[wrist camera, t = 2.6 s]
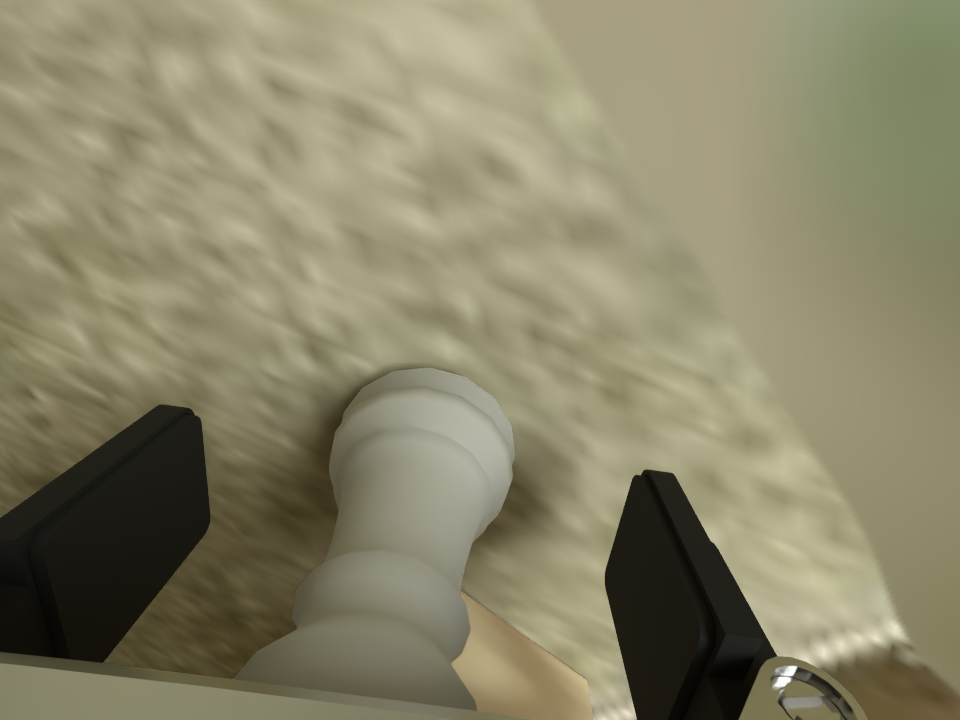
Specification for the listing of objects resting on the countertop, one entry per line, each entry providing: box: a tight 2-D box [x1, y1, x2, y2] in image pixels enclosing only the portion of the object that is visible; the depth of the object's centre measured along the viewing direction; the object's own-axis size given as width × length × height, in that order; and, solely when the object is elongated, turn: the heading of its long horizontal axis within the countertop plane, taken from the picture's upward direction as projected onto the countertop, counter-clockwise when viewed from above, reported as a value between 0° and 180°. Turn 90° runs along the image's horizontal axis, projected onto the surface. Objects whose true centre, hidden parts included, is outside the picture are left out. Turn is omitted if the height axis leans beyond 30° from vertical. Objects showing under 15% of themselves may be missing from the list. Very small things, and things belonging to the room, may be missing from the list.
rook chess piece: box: [233, 367, 515, 711], centre depth 9 cm, size 4×4×8 cm
